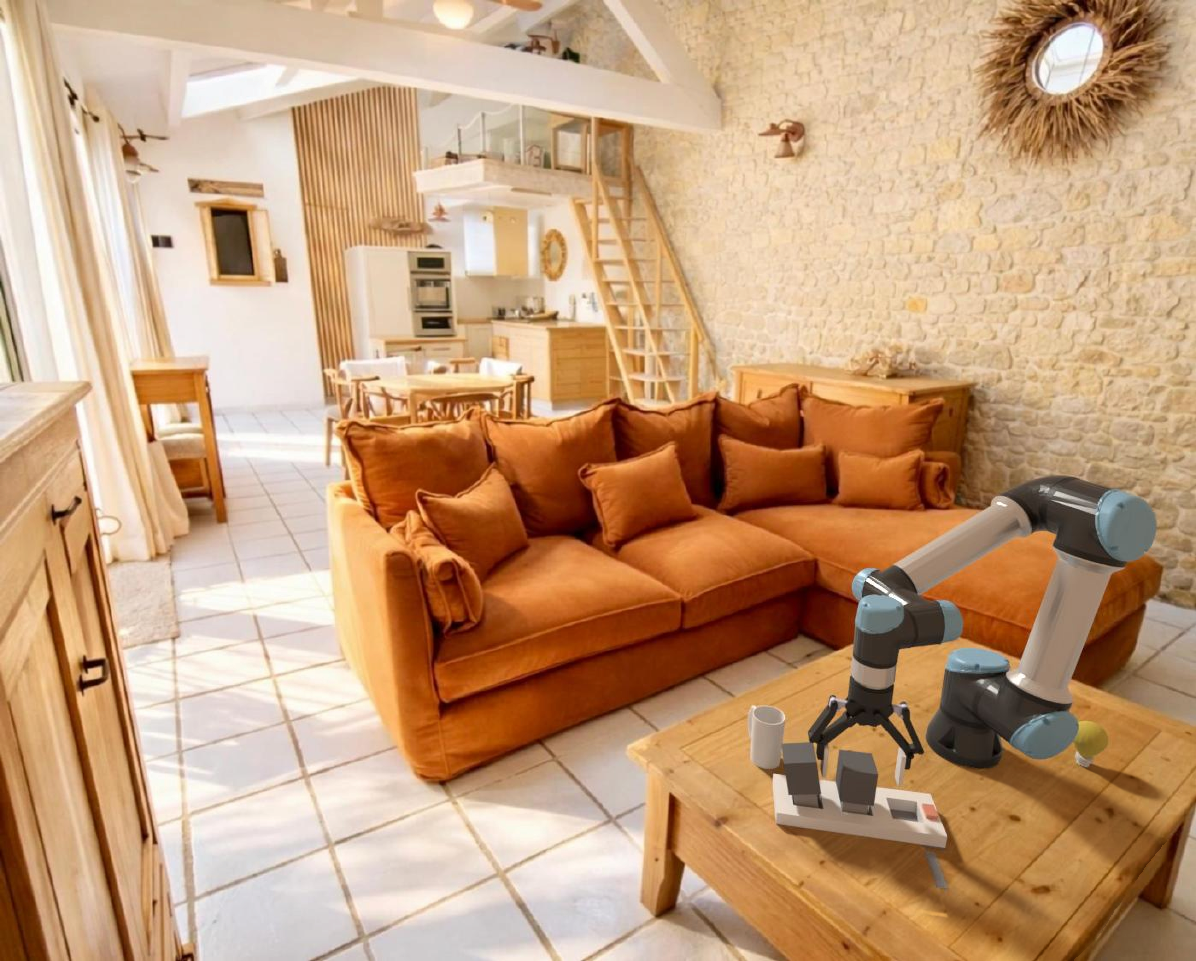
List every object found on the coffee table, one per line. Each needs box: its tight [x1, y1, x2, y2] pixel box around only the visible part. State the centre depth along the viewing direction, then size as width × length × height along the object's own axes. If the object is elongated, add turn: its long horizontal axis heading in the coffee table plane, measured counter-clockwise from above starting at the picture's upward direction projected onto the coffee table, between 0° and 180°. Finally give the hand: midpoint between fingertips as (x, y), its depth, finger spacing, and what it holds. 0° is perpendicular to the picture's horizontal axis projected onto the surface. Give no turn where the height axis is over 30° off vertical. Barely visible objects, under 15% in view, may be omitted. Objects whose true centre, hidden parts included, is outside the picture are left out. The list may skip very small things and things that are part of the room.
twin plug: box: [781, 741, 821, 808], centre depth 132 cm, size 6×6×12 cm
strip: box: [771, 773, 948, 851], centre depth 132 cm, size 30×11×4 cm, turn 80°
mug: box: [747, 704, 786, 770], centre depth 147 cm, size 10×7×12 cm, turn 23°
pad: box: [923, 850, 949, 890], centre depth 121 cm, size 8×8×1 cm
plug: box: [834, 749, 879, 815], centre depth 130 cm, size 6×6×12 cm
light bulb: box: [1072, 720, 1109, 768], centre depth 147 cm, size 7×7×10 cm
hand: (860, 777), depth 130 cm, fingers open, 13 cm apart
